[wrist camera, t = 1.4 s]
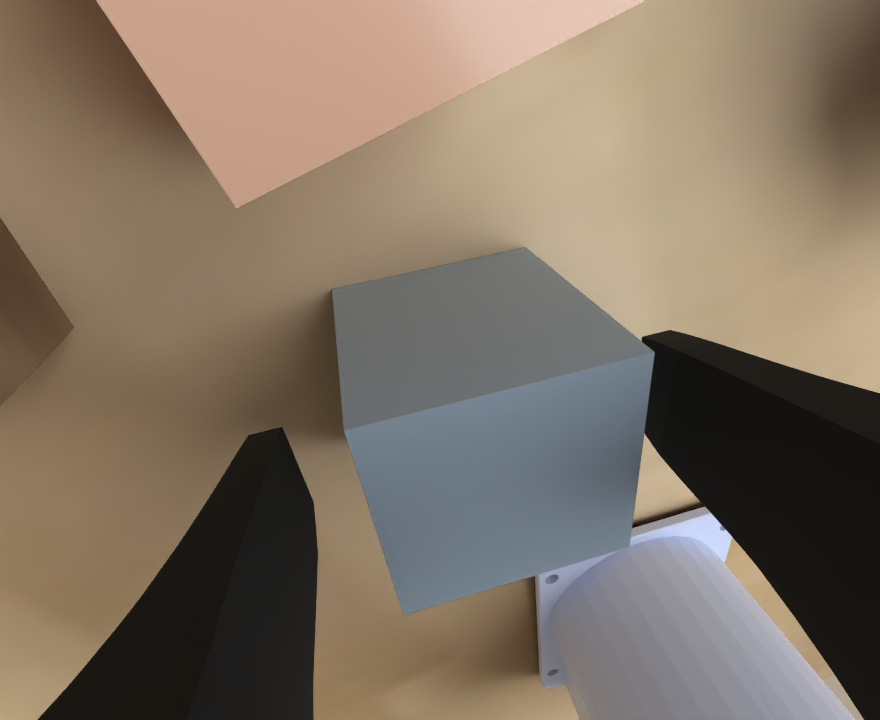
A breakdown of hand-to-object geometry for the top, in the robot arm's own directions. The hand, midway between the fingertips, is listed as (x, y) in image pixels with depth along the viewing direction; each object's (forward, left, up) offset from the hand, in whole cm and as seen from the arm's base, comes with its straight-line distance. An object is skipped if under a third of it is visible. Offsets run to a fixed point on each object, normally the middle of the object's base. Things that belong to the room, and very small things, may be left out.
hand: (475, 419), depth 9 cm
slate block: (0, 0, -3) cm, 3 cm away
